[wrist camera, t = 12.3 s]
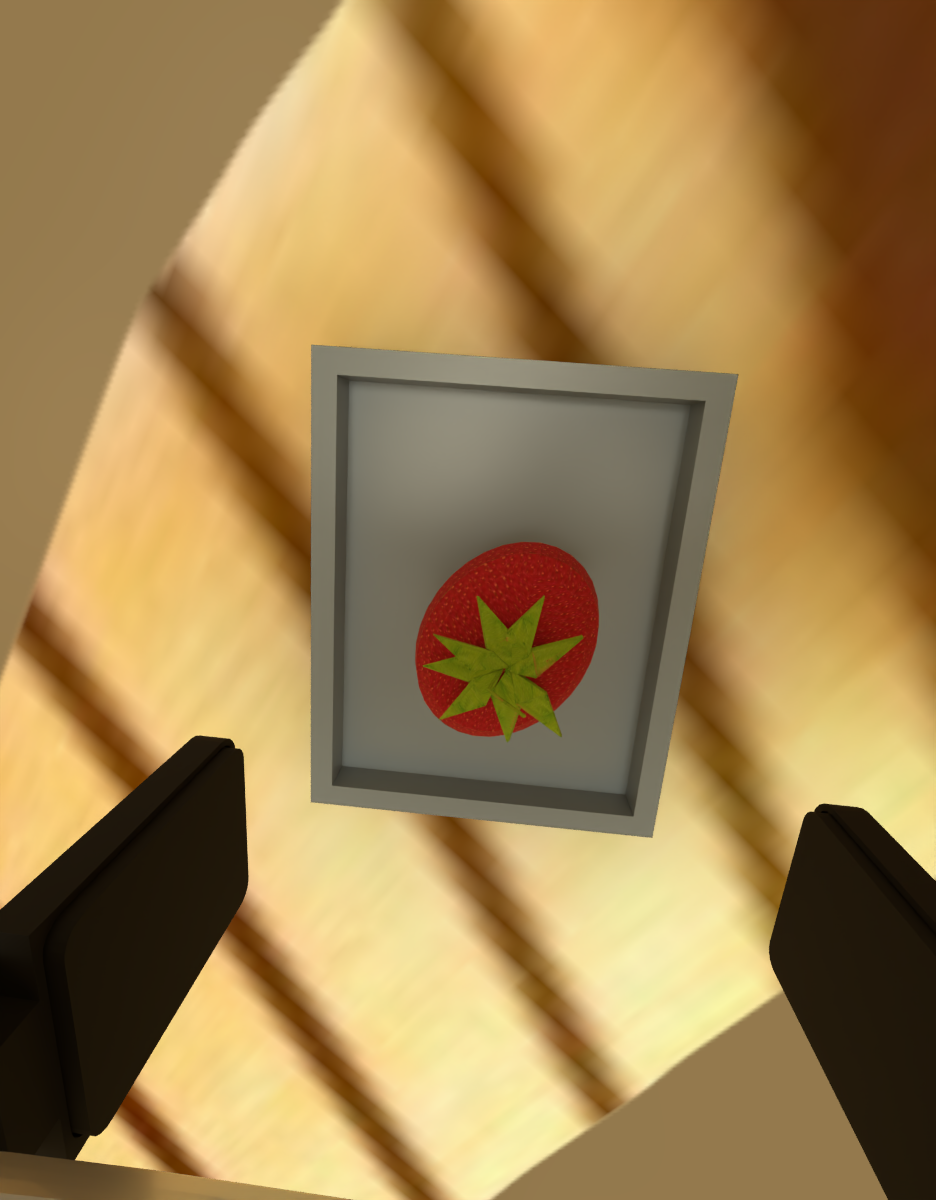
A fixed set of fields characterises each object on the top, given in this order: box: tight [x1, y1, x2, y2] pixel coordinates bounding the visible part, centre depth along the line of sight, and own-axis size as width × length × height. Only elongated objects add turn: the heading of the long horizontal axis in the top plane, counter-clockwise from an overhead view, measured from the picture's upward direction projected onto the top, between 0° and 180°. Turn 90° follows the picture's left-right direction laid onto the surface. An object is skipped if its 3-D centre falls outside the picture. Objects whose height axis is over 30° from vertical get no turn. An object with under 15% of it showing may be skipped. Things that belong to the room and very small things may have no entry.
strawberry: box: [415, 542, 599, 742], centre depth 20 cm, size 6×8×10 cm
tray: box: [311, 345, 738, 838], centre depth 24 cm, size 16×20×2 cm
